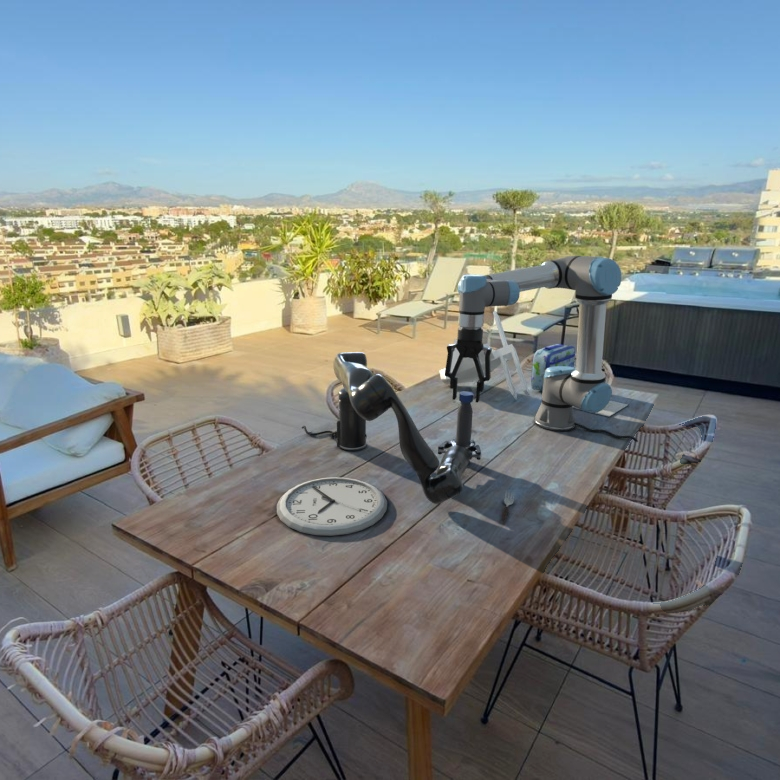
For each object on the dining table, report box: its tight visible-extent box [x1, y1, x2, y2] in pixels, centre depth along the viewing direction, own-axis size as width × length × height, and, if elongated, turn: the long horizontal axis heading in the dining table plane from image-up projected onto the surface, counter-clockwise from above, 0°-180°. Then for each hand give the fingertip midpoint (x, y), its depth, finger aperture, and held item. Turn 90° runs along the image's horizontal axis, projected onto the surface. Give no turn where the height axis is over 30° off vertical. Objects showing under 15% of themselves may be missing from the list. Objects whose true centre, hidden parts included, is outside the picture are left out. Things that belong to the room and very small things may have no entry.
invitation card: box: [573, 400, 629, 418], centre depth 226 cm, size 21×1×15 cm
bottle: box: [455, 401, 474, 465], centre depth 167 cm, size 5×5×23 cm
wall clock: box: [276, 476, 388, 537], centre depth 142 cm, size 30×2×30 cm
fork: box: [501, 490, 516, 524], centre depth 141 cm, size 3×16×2 cm, turn 160°
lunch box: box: [530, 343, 576, 392], centre depth 248 cm, size 26×11×21 cm, turn 134°
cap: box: [458, 390, 474, 403], centre depth 164 cm, size 4×4×2 cm
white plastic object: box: [438, 310, 531, 400], centre depth 245 cm, size 37×45×31 cm
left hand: (464, 441), depth 171 cm, fingers closed on bottle, 4 cm apart
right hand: (465, 399), depth 164 cm, fingers open, 7 cm apart
